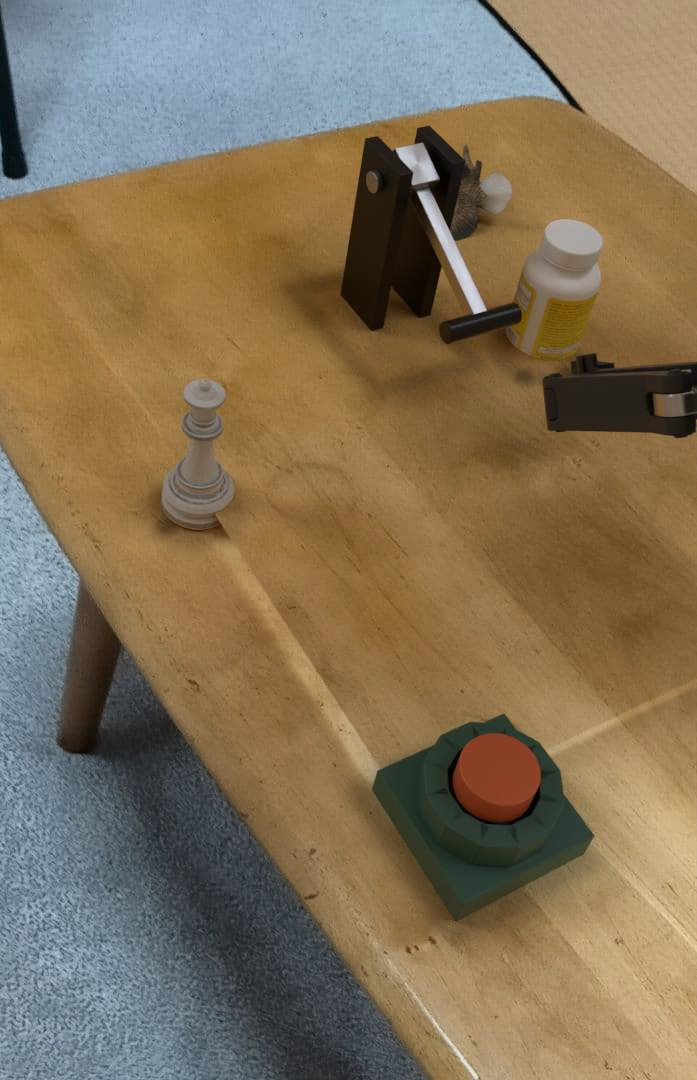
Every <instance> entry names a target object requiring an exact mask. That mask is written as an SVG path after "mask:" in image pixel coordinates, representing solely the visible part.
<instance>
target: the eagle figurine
mask: <svg viewBox="0 0 697 1080" xmlns="http://www.w3.org/2000/svg"><path fill="white" fill-rule="evenodd" d="M470 153H471V152H470V148H469V146H468V144H464V145H463V147H462V158H463V159H464V160H465V161H466V163H465V168H464V172H463V176H462V181H461V185H460V189H459V194H458V198H457V203H456V207H455V211H454V216H453V220H452V224H451V229H450V232H451V234H452V237H453V239H454V241H455V242H457V241H460V240H462V239H463V238H464V237H465V238H467V237H471V236H472V234H473V233H475V230H476V229H478V225H479V221H478V218H479V215H478V213H479V211H480V210H479V209H482V210H484V211H485V212H487V213H488V214H490V215H493V216H498V215H500V214H501V213H503V212H504V210H505V209H506V207H508V205H509V204H510V203H511V201H512V196H513V193H514V190H513V186H512V184H511V182H510V181H509V179H508V178H507V177H506V176H504V174H502V173H499V172H497V171H495V172H491V174H490V173H489V175H487V176H486V177H485V178H484V179H483V180H481V175H482V169H483V162H482V161H481V160H479V159H476V160H475V165H474V164H473V161H472V158H471V154H470ZM480 180H481V181H480Z"/></svg>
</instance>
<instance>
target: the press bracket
mask: <svg viewBox="0 0 697 1080" xmlns="http://www.w3.org/2000/svg"><path fill="white" fill-rule="evenodd" d="M418 143H423V144H424V146H425V148H426V150H427V152H428V154H429V156H430V158H431V160H432V163H433V165H434V167H435V169H436V171H437V173H438V175H439V177H440V181H439V182H438V183H437V185H436V186H435V188H434V189H433V190H432V194H433V196H434V198H435V201H436V203H437V205H438V207H439V209H440V211H441V213H442V215H443V217H444V220H445V222H446V224H447V226H448V228H449V230H450V229H451V224H452V220H453V216H454V211H455V207H456V203H457V198H458V194H459V189H460V185H461V181H462V176H463V172H464V168H465V163H466V161H465V160H464V158H463V156H461V155H460V154H459V153H458V152H457V151H456V150H455V149H454V148H453V147H452V146H451V145H450V144H449V143H448V141H446V140H445V139H444V138H443V137H442V136H441V135H440V134H439V133H438V132H437V131H436V130H435V129H434V128H433V127H431V125H423V126H420V127H416V131H415V137H414V143H413V144H418ZM412 178H413V171H412V170H411V169H410V168H409V167H408V166H407V165H406V164H405V163H404V162H403V161H402V160H401V159H400V158H399V157H398V156H397V155H396V154H395V153H394V152H393V149H392V148H390V146H388V145H387V143H385V142H384V140H382V138H381V137H380V136H379V135H375V136H370V137H365V139H364V142H363V150H362V156H361V162H360V168H359V174H358V180H357V188H356V193H355V200H354V206H353V211H352V218H351V224H350V231H349V237H348V238H349V239H348V243H347V251H346V257H345V263H344V270H343V276H342V281H341V288H340V296H341V297H342V298H343V299H344V301H345V302H346V303H347V304H348V306H349V307H350V308H351V309H352V310H353V312H355V314H356V315H357V316H358V318H359V319H360V320H361V321H362V323H364V324H365V326H366V327H367V328H368V329H369V331H371V332H375V331H378V330H382V329H384V326H385V322H386V315H387V310H388V305H389V302H390V301H389V300H390V296H391V290H392V289H393V290H394V291H395V292H396V293H397V295H398V296H399V297H400V298H401V299H402V301H403V302H404V303H405V304H406V305H407V306H408V307H409V309H410V310H411V311H412V312H413V313H414V314H415V315H416V316H417V318H419V319H422V318H425V317H428V316H429V317H430V316H432V311H433V307H434V302H435V299H436V297H435V296H436V293H437V289H438V285H439V281H440V276H441V273H442V269H443V268H442V266H441V264H440V261H439V259H438V257H437V255H436V253H435V251H434V249H433V246H432V244H431V242H430V240H429V238H428V236H427V234H426V232H425V229H424V227H423V225H422V223H421V221H420V219H419V217H418V214H417V212H416V210H415V208H414V206H413V204H412V203H408V199H409V193H410V188H411V183H412Z"/></svg>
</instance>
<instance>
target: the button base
mask: <svg viewBox="0 0 697 1080" xmlns="http://www.w3.org/2000/svg"><path fill="white" fill-rule="evenodd" d="M490 733H498V734H504V735H508V736H511V737H513V738H515V739H517V740H519V741H521V742H522V743H523V744H525V745H526V746H527V747H528V748H529V749H530V750H531V751H532V753H533V754H534V755H535V757H536V759H537V761H538V764H539V767H540V771H541V780H540V784H539V787H538V789H537V792H536V794H535V796H534V798H533V800H532V802H531V804H530V806H529V808H528V809H527V810H526V812H525V813H524V814H523V815H521V816H520V817H518V818H517V819H515V820H512V821H509V822H504V823H493V822H488V821H484V820H481V819H479V818H477V817H475V816H473V815H472V814H470V813H469V812H468V811H467V810H466V809H465V808H464V807H463V806H462V805H461V804H460V802H459V801H458V799H457V797H456V795H455V792H454V789H453V774H454V771H455V768H456V765H457V763H458V760H459V757H460V755H461V752H462V750H463V748H464V747H465V746H466V745H467V743H468V742H470V741H471V740H472V739H474V738H476V737H478V736H480V735H484V734H490ZM372 784H373V785H372V788H371V792H372V793H373V795H374V796H375V797H376V799H377V801H378V802H379V804H380V805H381V807H382V809H383V810H384V812H385V813H386V815H387V816H388V818H389V819H390V822H391V823H392V825H393V826H394V827H395V829H396V830H397V832H398V833H399V835H400V837H401V838H402V840H403V842H404V843H405V844H406V846H407V848H408V849H409V851H410V852H411V854H412V856H413V857H414V859H415V860H416V862H417V863H418V865H419V866H420V868H421V870H422V871H423V873H424V875H425V876H426V878H427V880H428V881H429V882H430V884H431V885H432V887H433V889H434V890H435V892H436V893H437V894H438V896H439V898H440V899H441V901H442V902H443V904H444V906H445V907H446V908H447V911H448V912H449V914H450V915H451V916H452V918H453V920H454V921H455V922H459V921H460V920H462V919H464V918H466V917H468V916H470V915H472V914H474V913H476V912H477V911H479V910H481V909H483V908H486V907H487V906H489V905H491V904H493V903H495V902H496V901H498V900H500V899H502V898H504V897H507V896H509V894H512V893H513V892H515V891H517V890H519V889H521V888H523V887H525V886H527V885H528V884H530V883H532V882H534V881H536V880H538V879H540V878H542V877H543V876H546V875H548V874H549V873H551V872H553V871H554V870H557V869H559V868H561V867H562V866H565V865H566V864H569V863H570V862H572V861H574V860H576V859H577V858H579V857H582V856H583V855H585V853H586V851H587V850H588V848H589V846H590V845H591V843H592V841H593V840H594V838H595V834H594V833H593V831H592V830H591V829H590V827H589V826H588V824H587V823H586V822H585V821H584V819H583V818H582V816H581V815H580V813H578V811H577V809H576V808H575V807H574V805H573V804H572V803H571V802H570V800H569V799H568V798H567V796H566V795H565V793H564V787H563V779H562V772H561V769H560V767H558V765H557V764H556V762H555V761H554V760H553V759H552V757H551V756H550V755H549V753H548V751H546V749H545V748H544V746H543V745H542V744H541V743H540V742H539V741H538V740H537V739H535V738H533V737H531V736H529V735H527V734H526V733H524V732H521V731H520V730H518V729H517V728H516V727H515V726H514V724H513V723H512V722H511V720H510V719H509V717H508V716H507V715H506V714H505V713H502V714H499V715H497V716H494V717H493V718H491V719H488V720H486V721H484V722H482V721H481V722H480V721H469V722H467V723H464V724H462V725H460V726H457V727H455V728H454V729H451V730H449V731H447V732H445V733H442V734H441V735H439V736H438V738H437V740H436V741H435V743H434V744H433V745H431V746H428V747H427V748H424V749H422V750H420V751H417V752H415V753H413V754H411V755H408V756H406V757H404V758H402V759H400V760H398V761H396V762H393V763H391V764H388V765H387V766H384V767H382V768H380V769H378V770H377V771H376V774H375V777H374V781H373V783H372Z"/></svg>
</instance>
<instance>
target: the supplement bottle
mask: <svg viewBox="0 0 697 1080" xmlns="http://www.w3.org/2000/svg"><path fill="white" fill-rule="evenodd" d="M603 246H604V239H603V237H602V235H601V233H599V231H598V230H597V229H596V228H594V227H593V226H591V225H590V224H588V223H585V222H583V221H579V220H575V219H571V218H569V219H568V218H562V219H556V220H554V221H551V222H550V223H548V224H547V225H546V226H545V229H544V231H543V235H542V238H541V240H540V245H539V247H537V248H535V249H533V250H531V252H530V253H529V254H528V256H527V257H526V258H525V260H524V262H523V266H522V269H521V273H520V276H519V280H518V283H517V287H516V290H515V294H514V296H513V300H512V302H514V303H517V304H518V305H519V307H520V309H521V312H522V320H521V322H520V323H519V324H517V325H513V326H510V327H506V328H505V334H506V336H507V339H508V340H509V342H510V343H511V344H512V346H514V347H515V348H516V349H517V350H518V351H520V352H522V353H523V354H524V355H527V356H529V357H532V358H535V359H538V360H544V361H561V360H565V359H567V358H570V357H571V356H573V355H574V354H576V353H577V351H578V350H579V349H580V346H581V343H582V340H583V337H584V334H585V331H586V328H587V325H588V322H589V320H590V316H591V313H592V311H593V307H594V306H595V302H596V300H597V296H598V293H599V290H600V287H601V283H602V271H601V268H600V267H599V265H598V261H599V260H600V256H601V253H602V249H603Z"/></svg>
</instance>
